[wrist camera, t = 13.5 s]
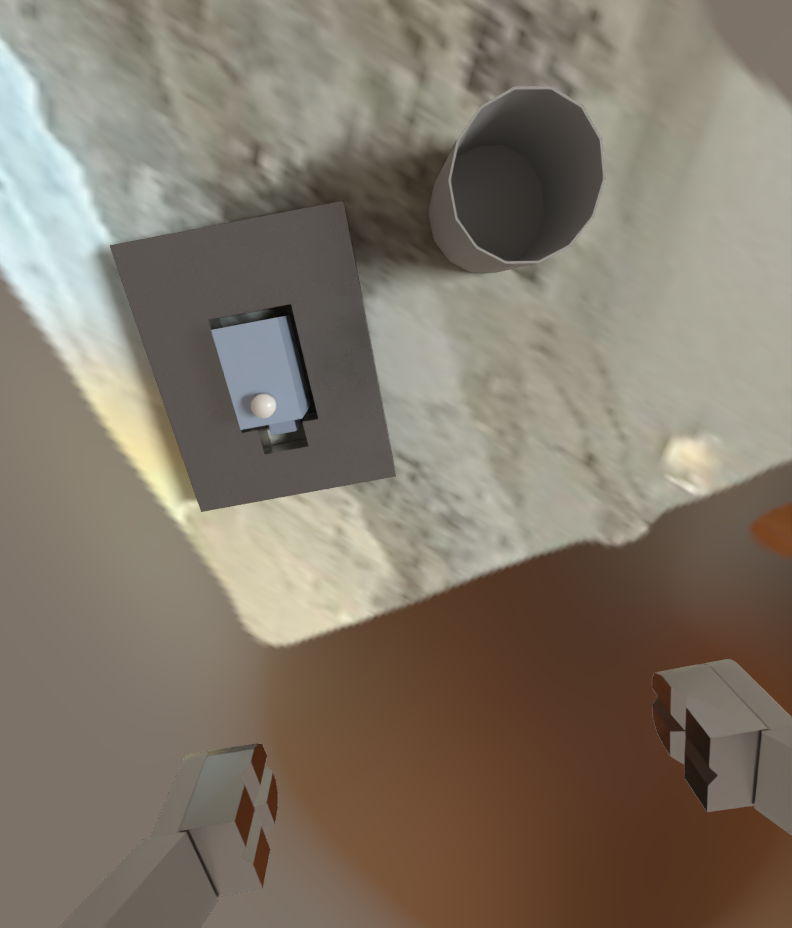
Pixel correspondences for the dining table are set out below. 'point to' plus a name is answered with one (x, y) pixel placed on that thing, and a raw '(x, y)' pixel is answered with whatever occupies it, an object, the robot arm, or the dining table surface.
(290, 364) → the block
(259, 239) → the frame
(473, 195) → the cup
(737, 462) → the dining table surface
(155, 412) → the dining table surface
